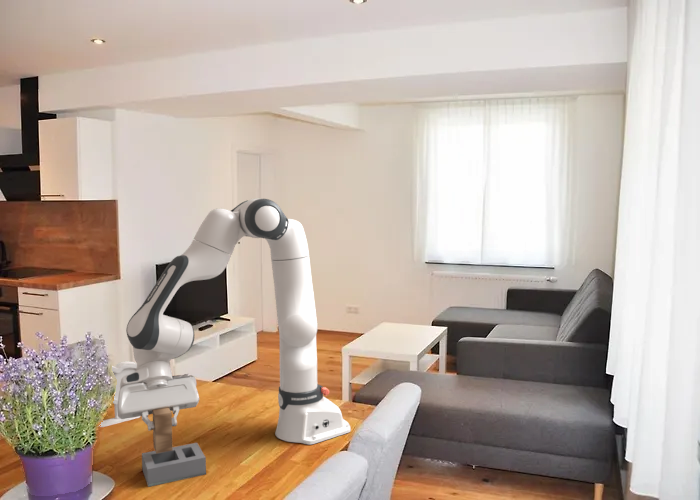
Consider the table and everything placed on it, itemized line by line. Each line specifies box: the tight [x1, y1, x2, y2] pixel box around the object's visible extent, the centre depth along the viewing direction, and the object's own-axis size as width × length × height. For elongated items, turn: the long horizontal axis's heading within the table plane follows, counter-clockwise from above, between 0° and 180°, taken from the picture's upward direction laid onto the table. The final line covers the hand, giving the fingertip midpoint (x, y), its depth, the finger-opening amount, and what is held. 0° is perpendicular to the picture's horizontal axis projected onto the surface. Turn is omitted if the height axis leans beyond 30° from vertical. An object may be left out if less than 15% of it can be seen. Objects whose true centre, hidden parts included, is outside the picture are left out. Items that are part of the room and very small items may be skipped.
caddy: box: [141, 442, 207, 488], centre depth 154 cm, size 14×10×4 cm
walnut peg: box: [152, 407, 174, 454], centre depth 152 cm, size 4×4×10 cm
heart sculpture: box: [98, 360, 141, 428], centre depth 188 cm, size 16×5×18 cm, turn 131°
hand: (162, 427), depth 151 cm, fingers closed on walnut peg, 4 cm apart
